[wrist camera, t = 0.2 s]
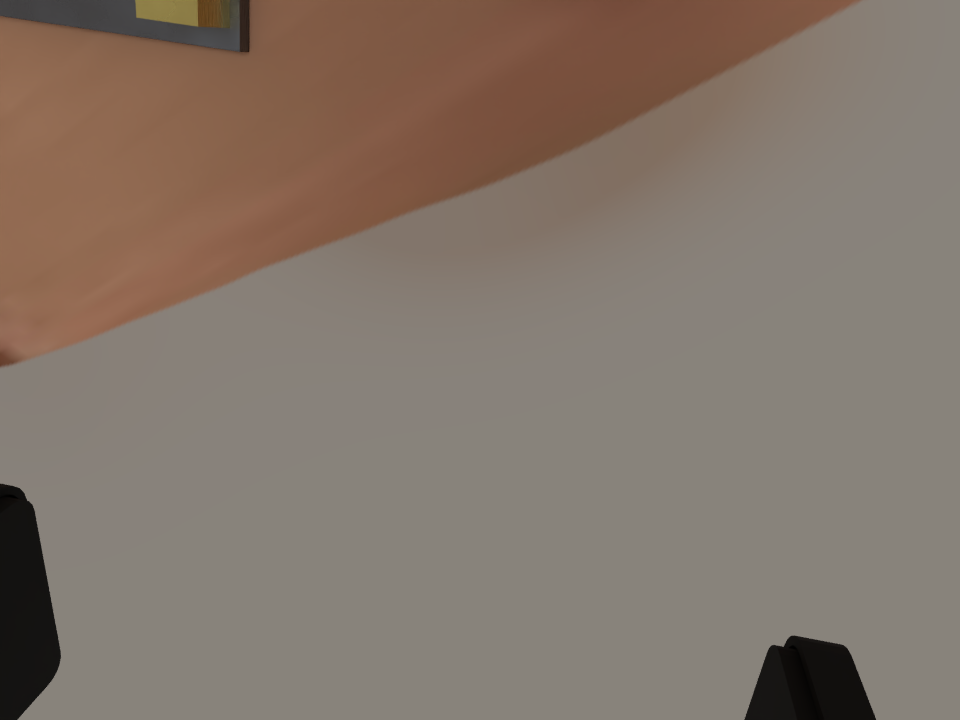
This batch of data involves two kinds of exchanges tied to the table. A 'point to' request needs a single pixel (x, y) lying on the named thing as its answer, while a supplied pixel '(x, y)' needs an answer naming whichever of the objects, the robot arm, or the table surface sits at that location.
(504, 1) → the table surface
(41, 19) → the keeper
